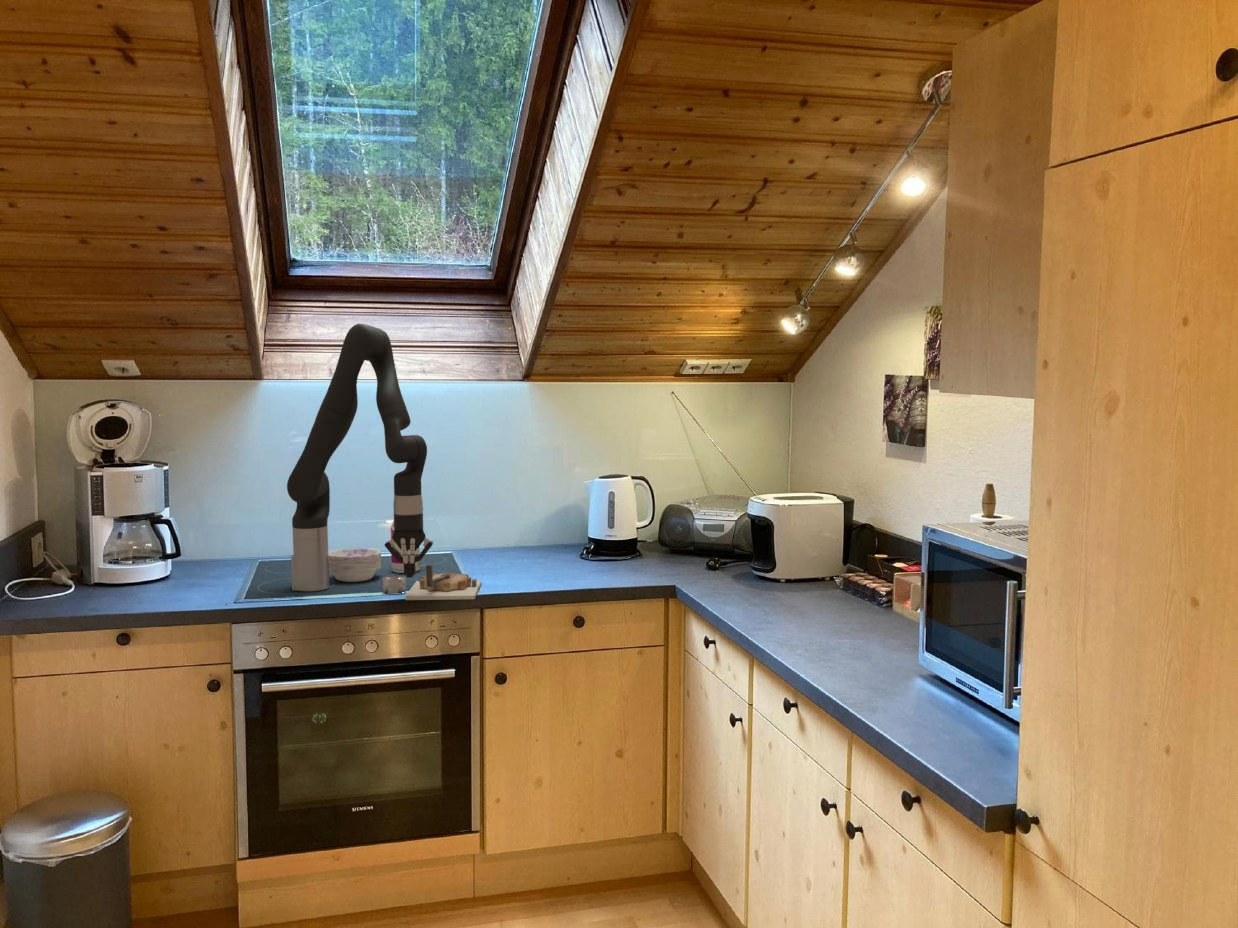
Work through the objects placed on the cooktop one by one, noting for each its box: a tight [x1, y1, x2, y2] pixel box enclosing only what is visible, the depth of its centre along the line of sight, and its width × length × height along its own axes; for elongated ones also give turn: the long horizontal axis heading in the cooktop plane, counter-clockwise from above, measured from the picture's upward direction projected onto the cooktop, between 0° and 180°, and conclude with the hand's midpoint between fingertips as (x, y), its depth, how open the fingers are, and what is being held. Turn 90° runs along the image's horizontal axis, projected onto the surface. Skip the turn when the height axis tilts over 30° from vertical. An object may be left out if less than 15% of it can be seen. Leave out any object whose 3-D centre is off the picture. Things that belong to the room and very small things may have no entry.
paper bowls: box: [328, 548, 382, 583], centre depth 294 cm, size 15×15×8 cm
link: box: [382, 575, 407, 595], centre depth 277 cm, size 3×6×4 cm, turn 93°
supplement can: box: [390, 520, 421, 574], centre depth 304 cm, size 8×8×15 cm
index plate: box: [404, 578, 482, 601], centre depth 278 cm, size 18×19×3 cm
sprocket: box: [418, 564, 472, 591], centre depth 278 cm, size 14×16×7 cm
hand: (409, 576), depth 270 cm, fingers closed
